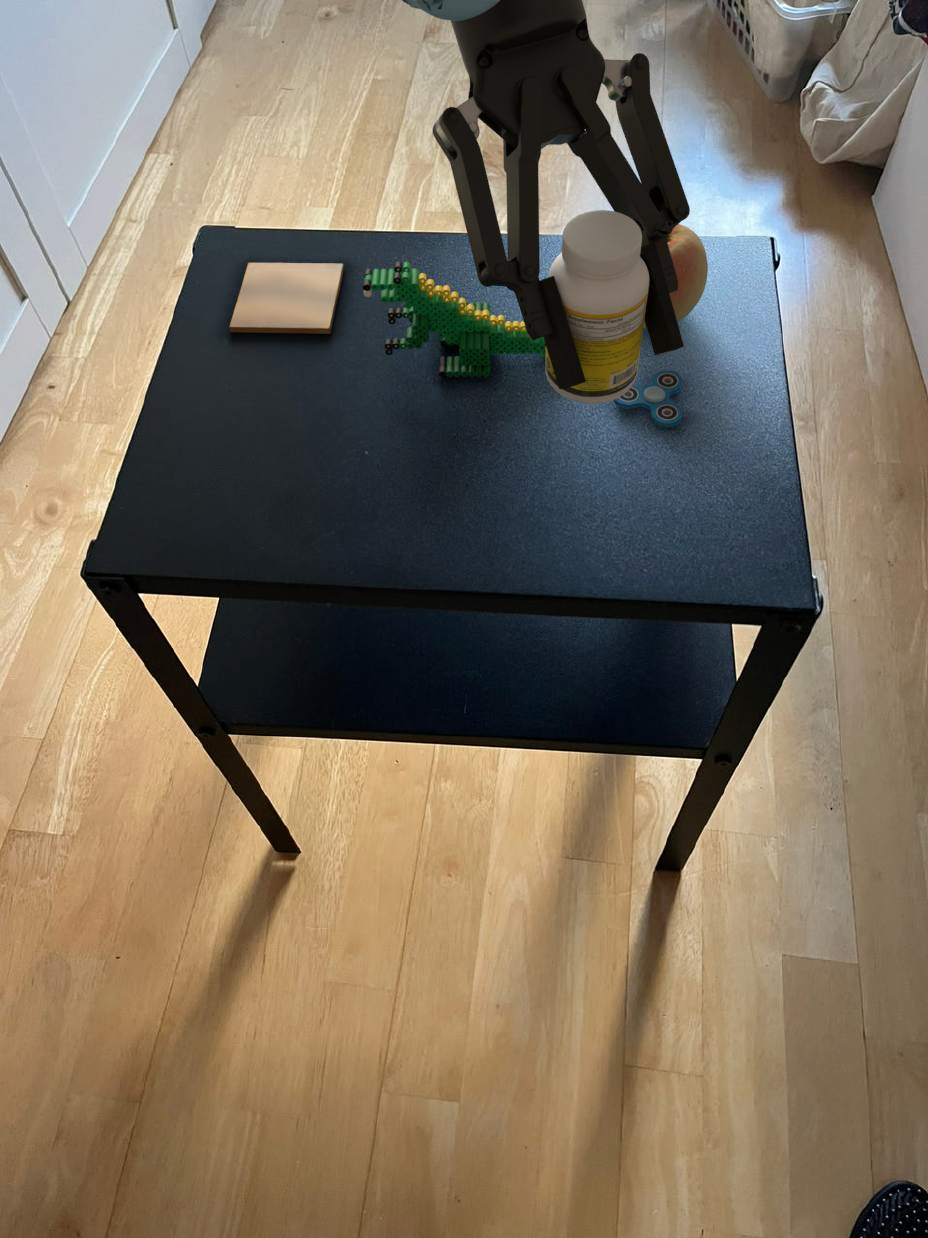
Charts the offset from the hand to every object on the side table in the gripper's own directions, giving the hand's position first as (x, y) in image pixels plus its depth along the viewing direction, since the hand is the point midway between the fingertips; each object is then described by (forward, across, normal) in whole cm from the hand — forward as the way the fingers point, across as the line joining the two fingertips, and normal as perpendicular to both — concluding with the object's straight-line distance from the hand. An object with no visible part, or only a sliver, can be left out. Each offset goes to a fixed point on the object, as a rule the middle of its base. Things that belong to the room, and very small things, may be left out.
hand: (621, 367), depth 65 cm
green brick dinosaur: (-4, -1, -26) cm, 27 cm away
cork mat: (-14, +13, -37) cm, 41 cm away
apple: (-3, -15, -25) cm, 30 cm away
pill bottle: (0, 0, -5) cm, 5 cm away
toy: (+4, -10, -18) cm, 21 cm away
